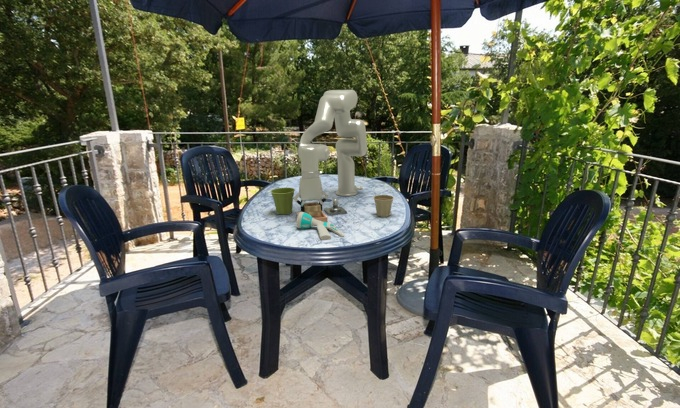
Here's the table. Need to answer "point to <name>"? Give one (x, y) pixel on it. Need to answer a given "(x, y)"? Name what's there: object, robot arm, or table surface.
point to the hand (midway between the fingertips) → (311, 212)
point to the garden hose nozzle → (308, 221)
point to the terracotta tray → (318, 217)
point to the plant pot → (283, 200)
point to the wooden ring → (312, 208)
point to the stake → (335, 209)
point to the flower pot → (383, 205)
